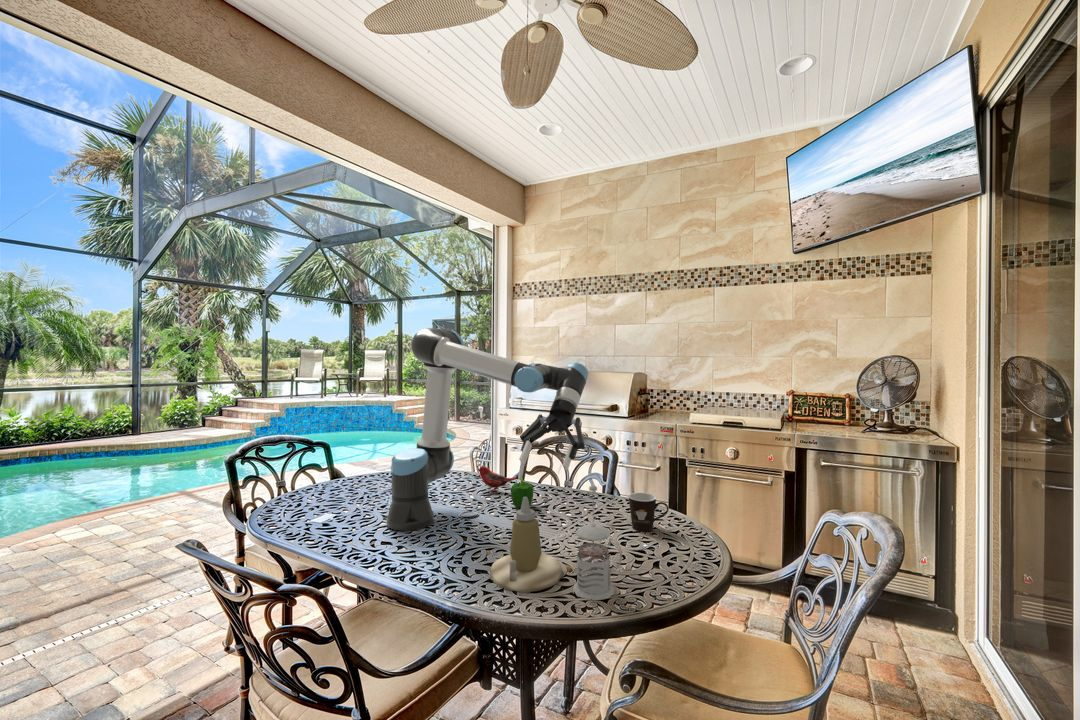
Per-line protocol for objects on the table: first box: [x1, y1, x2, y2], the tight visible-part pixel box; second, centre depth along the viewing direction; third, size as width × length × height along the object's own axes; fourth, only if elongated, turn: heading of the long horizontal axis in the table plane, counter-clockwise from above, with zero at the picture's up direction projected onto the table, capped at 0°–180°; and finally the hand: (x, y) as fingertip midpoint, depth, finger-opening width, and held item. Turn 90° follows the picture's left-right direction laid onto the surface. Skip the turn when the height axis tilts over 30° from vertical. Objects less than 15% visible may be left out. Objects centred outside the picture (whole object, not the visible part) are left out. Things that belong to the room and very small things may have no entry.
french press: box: [572, 484, 623, 601], centre depth 112 cm, size 10×12×25 cm
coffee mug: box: [628, 492, 669, 533], centre depth 149 cm, size 12×9×10 cm
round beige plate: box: [490, 553, 563, 593], centre depth 121 cm, size 18×18×6 cm
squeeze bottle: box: [509, 497, 543, 572], centre depth 121 cm, size 8×8×18 cm
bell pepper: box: [510, 477, 534, 509], centre depth 172 cm, size 8×8×10 cm
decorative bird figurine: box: [477, 465, 519, 492], centre depth 189 cm, size 3×18×10 cm, turn 75°
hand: (542, 465), depth 133 cm, fingers open, 13 cm apart
